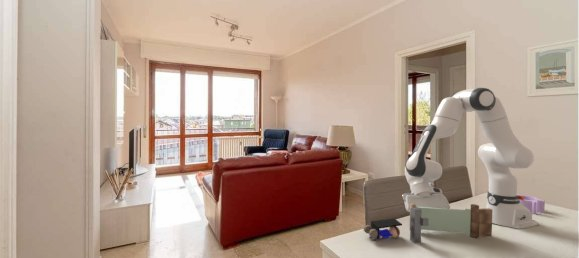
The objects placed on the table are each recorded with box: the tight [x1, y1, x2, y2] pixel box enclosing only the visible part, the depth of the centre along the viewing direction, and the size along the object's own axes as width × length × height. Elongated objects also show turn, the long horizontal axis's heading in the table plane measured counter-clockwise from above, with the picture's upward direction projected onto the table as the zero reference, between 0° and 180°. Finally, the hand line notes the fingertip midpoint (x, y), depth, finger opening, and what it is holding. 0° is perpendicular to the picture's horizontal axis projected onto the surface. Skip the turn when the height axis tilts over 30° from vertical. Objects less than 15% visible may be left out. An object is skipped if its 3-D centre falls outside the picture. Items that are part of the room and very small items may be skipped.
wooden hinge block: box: [469, 203, 493, 239], centre depth 115 cm, size 10×3×14 cm, turn 98°
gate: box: [409, 204, 471, 236], centre depth 118 cm, size 24×2×12 cm, turn 77°
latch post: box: [409, 207, 429, 244], centre depth 110 cm, size 6×4×14 cm
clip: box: [517, 193, 546, 215], centre depth 151 cm, size 20×12×7 cm, turn 16°
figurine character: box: [363, 217, 403, 242], centre depth 114 cm, size 7×8×15 cm
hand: (432, 220), depth 120 cm, fingers closed
